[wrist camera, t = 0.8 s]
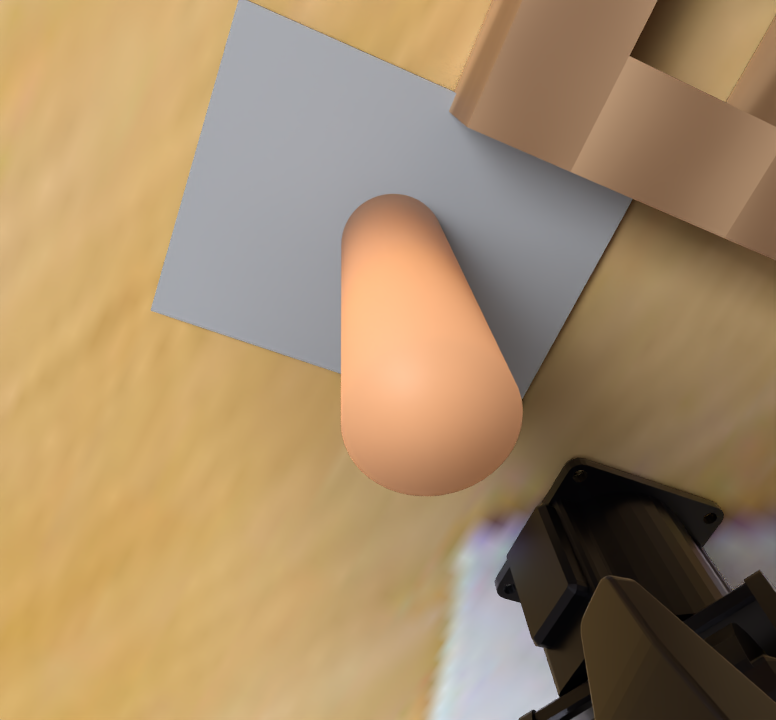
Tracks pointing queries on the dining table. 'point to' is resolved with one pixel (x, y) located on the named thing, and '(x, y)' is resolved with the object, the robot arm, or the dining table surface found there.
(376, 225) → the peg
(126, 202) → the dining table surface
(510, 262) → the mat
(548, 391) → the dining table surface
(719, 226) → the hole block
